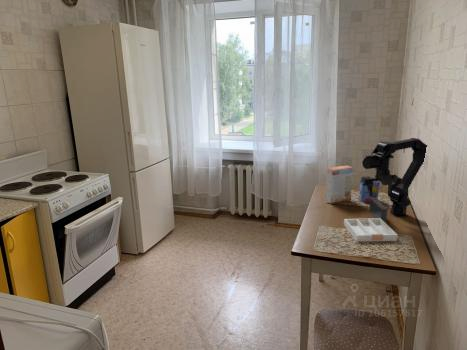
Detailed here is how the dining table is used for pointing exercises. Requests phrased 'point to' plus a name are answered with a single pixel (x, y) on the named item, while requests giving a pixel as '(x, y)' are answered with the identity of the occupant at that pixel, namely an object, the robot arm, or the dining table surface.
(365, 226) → the slot rack
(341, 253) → the dining table surface
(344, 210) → the dining table surface
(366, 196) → the ink cartridge box
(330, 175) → the cracker box
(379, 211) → the panel
